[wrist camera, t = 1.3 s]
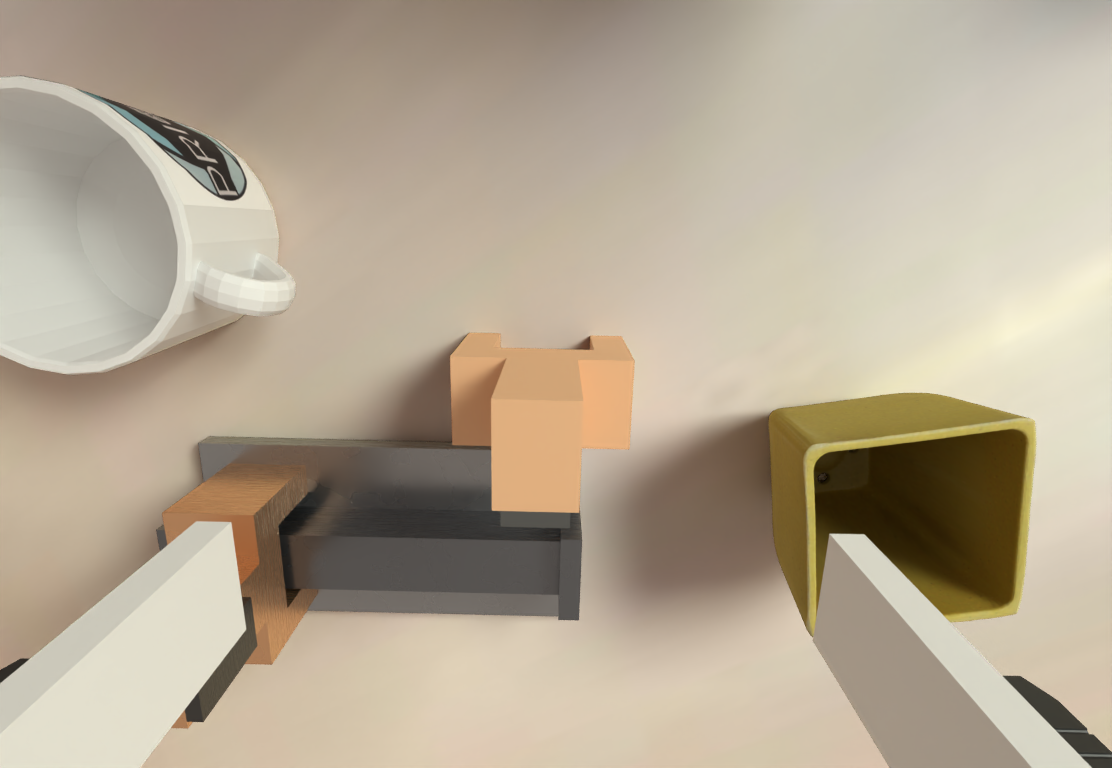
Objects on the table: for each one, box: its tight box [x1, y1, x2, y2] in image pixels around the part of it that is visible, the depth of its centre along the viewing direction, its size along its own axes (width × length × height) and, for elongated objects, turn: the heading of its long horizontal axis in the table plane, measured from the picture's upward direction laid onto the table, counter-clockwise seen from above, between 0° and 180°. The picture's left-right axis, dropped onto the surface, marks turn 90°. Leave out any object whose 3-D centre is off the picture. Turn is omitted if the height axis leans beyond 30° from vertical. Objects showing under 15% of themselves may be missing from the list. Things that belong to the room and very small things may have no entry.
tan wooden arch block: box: [450, 333, 635, 528], centre depth 25 cm, size 8×5×12 cm, turn 89°
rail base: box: [156, 436, 582, 728], centre depth 27 cm, size 10×20×12 cm, turn 89°
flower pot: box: [769, 393, 1036, 637], centre depth 28 cm, size 9×9×9 cm
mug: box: [0, 75, 296, 375], centre depth 25 cm, size 13×10×8 cm
